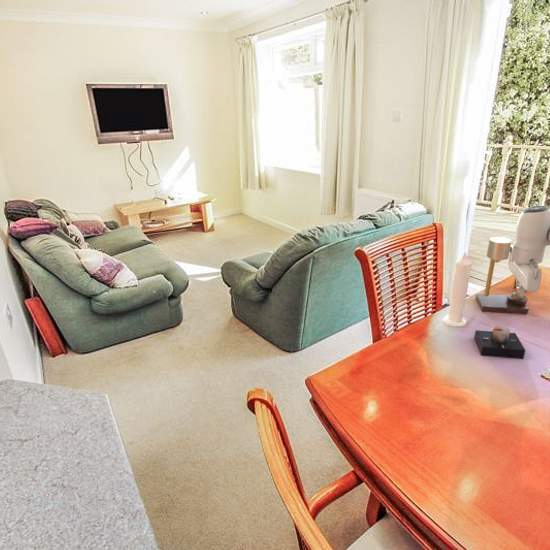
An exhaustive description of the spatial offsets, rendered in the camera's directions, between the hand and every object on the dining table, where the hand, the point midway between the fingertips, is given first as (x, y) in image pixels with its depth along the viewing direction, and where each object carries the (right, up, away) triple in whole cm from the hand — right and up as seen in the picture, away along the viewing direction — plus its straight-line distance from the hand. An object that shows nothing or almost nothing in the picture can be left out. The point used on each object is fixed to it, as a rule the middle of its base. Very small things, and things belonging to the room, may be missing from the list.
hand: (519, 291), depth 130 cm
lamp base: (-5, -5, +4) cm, 8 cm away
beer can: (+10, 0, +14) cm, 17 cm away
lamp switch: (0, -2, +1) cm, 3 cm away
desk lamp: (-9, -2, +3) cm, 9 cm away
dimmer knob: (-19, -13, -19) cm, 30 cm away
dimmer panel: (-19, -16, -18) cm, 30 cm away
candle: (-24, -10, -3) cm, 26 cm away
